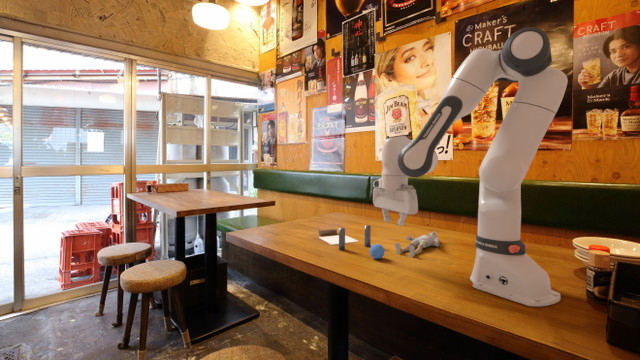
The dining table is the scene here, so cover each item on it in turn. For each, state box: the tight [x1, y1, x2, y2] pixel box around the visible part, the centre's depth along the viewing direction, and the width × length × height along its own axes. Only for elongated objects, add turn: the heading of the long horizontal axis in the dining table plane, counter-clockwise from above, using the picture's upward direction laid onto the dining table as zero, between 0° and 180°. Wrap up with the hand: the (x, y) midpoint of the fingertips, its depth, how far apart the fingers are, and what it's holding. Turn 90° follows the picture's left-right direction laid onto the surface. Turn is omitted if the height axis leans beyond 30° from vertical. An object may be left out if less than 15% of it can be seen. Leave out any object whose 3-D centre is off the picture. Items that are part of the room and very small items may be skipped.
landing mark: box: [318, 234, 360, 246], centre depth 144 cm, size 14×14×1 cm
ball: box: [369, 243, 385, 260], centre depth 116 cm, size 6×6×6 cm
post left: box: [338, 227, 346, 251], centre depth 127 cm, size 3×3×9 cm
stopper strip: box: [318, 228, 338, 237], centre depth 154 cm, size 2×9×2 cm, turn 115°
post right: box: [363, 224, 372, 248], centre depth 133 cm, size 3×3×9 cm
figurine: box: [394, 231, 440, 258], centre depth 130 cm, size 13×6×30 cm
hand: (393, 223), depth 106 cm, fingers open, 6 cm apart
